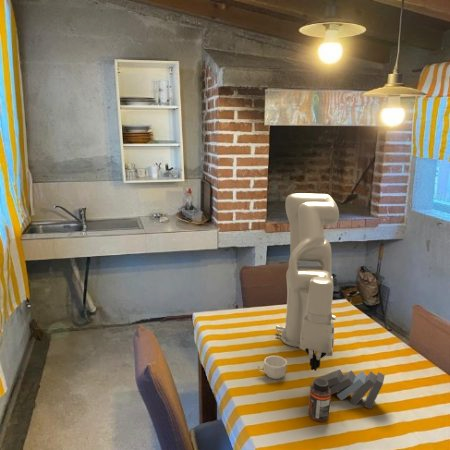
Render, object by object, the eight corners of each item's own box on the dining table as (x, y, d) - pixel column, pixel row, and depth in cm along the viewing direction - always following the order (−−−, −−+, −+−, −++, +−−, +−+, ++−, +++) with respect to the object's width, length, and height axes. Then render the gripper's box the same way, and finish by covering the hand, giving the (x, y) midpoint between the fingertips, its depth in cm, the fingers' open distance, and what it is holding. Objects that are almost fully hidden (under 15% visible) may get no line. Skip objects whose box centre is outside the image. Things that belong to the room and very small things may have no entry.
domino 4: (350, 400, 126) (368, 379, 122) (352, 392, 130) (370, 371, 127) (355, 405, 126) (374, 383, 122) (358, 396, 130) (376, 375, 126)
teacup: (282, 368, 145) (283, 355, 143) (288, 381, 137) (289, 366, 136) (255, 370, 143) (256, 356, 142) (259, 382, 136) (260, 368, 135)
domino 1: (310, 386, 132) (336, 377, 127) (314, 379, 136) (339, 369, 131) (313, 392, 131) (340, 382, 127) (317, 384, 136) (343, 374, 131)
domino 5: (364, 406, 124) (376, 380, 121) (366, 397, 129) (378, 371, 126) (370, 409, 124) (383, 383, 120) (372, 400, 128) (384, 375, 125)
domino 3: (336, 395, 128) (359, 378, 124) (340, 387, 132) (362, 370, 128) (341, 400, 127) (364, 383, 123) (344, 392, 132) (366, 375, 128)
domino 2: (323, 391, 130) (348, 378, 125) (327, 383, 134) (351, 370, 129) (327, 396, 129) (352, 383, 125) (330, 388, 134) (355, 375, 129)
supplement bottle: (305, 409, 123) (308, 376, 120) (324, 409, 123) (327, 375, 121) (311, 423, 117) (314, 388, 115) (331, 422, 117) (334, 387, 115)
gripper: (344, 316, 129) (340, 368, 132) (299, 307, 135) (295, 357, 139) (340, 325, 122) (335, 380, 126) (292, 315, 129) (289, 367, 132)
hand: (314, 368), depth 132 cm, fingers closed
